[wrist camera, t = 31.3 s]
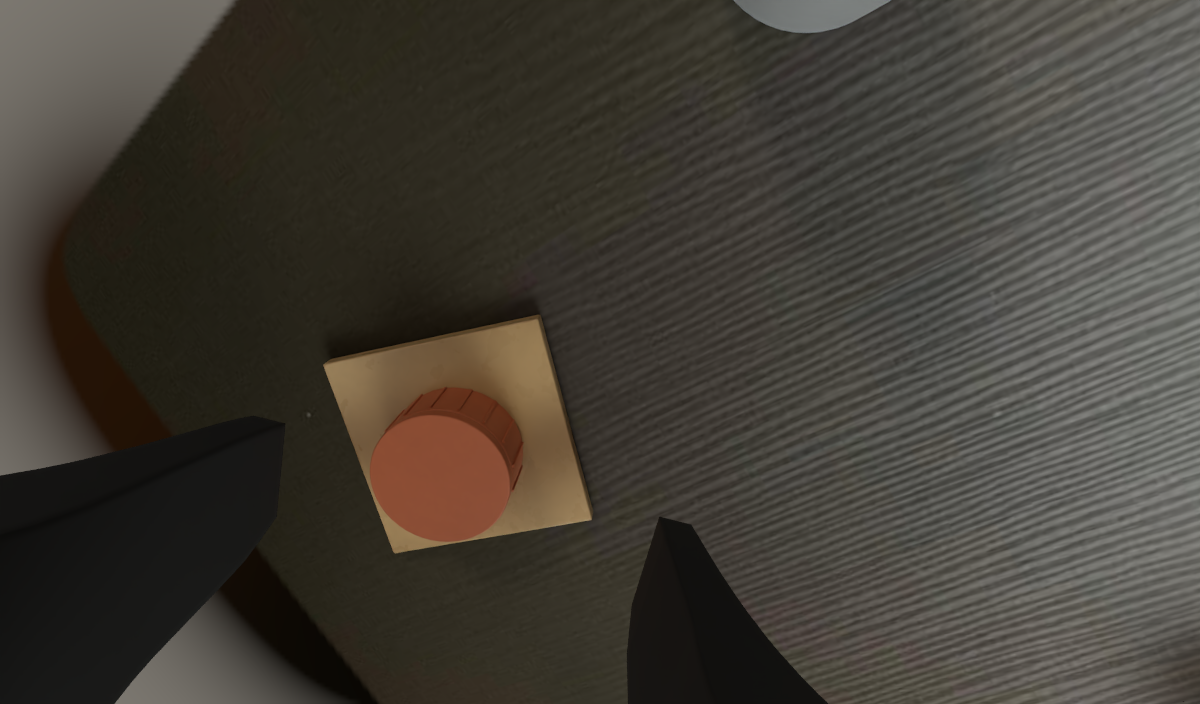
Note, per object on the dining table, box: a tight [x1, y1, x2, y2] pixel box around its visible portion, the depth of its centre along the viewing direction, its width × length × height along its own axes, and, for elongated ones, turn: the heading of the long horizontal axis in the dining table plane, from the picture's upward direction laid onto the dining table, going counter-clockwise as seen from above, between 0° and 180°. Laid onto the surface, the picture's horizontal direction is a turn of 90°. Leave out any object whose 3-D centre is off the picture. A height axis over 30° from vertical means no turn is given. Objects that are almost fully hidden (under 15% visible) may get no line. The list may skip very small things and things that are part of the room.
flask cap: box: [370, 387, 524, 542], centre depth 22 cm, size 4×4×2 cm
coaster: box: [323, 315, 593, 553], centre depth 23 cm, size 8×8×1 cm
